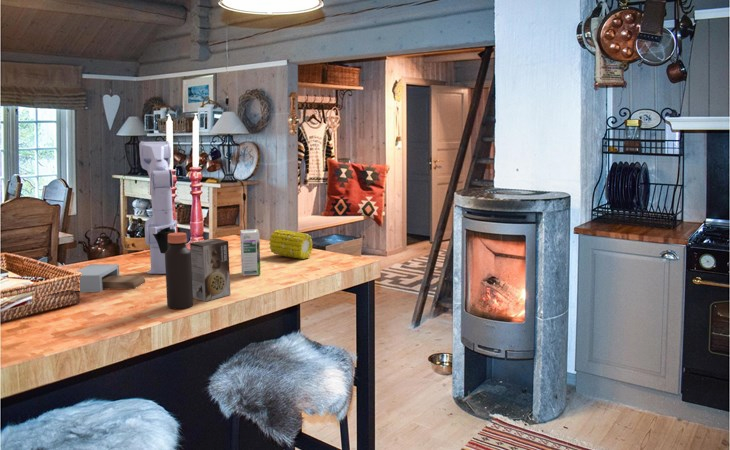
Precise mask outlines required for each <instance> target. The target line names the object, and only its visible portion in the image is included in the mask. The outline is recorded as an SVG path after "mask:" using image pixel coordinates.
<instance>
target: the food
mask: <svg viewBox="0 0 730 450" xmlns="http://www.w3.org/2000/svg"><path fill="white" fill-rule="evenodd" d="M269 249H270V252H271V253H273V254H274V255H278V256H283V257H289V258H294V259H302V260H305V259H308V258H310V257H311V254H312V251H313V240H312V236H311V235H309V234H308V233H304V232H298V231H292V230H285V229H276V230H274V231H273V232H272V233H271V234H270V238H269Z"/></svg>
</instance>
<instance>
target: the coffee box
mask: <svg viewBox="0 0 730 450" xmlns="http://www.w3.org/2000/svg"><path fill="white" fill-rule="evenodd" d="M189 247H190V248H189V250H190V251H191V264H192V289H193V299H197V300H200V301H203V302H208V301H212V300H216V299H219V298H224V297H227V296H230V295H231V276H230V275H231V274H230V252H229V248H230V247H229V241H228V240H224V239H221V238H216V237H215V238H210V239H205V240H198V241H192V242H190V243H189Z"/></svg>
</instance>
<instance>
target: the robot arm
mask: <svg viewBox="0 0 730 450" xmlns="http://www.w3.org/2000/svg"><path fill="white" fill-rule="evenodd" d="M138 149H139V158H140V166H141V168H142V169H143V170H145V171H147V174H148V177H149V185H150V187H149V188H150V200H151V212H152V216H151V217H149V218H148V219H146V221H145V223H144V237H145V238H144V239H145V240H144V241H145V244H146V245H147V246H149V256H150V257H149V258H150V269H149V270H148V271H147V272H146V274H147V275H148V274H150V275H151V274H153V275H157V274H158V275H159V274H160V275H166V269H165V252H166V251H167V250H168V249H169V244H168V234H170V233H177V224H178V223H177V222H178V221H177V219H174V217H173V216H174V212H173V196H172V195H173V192H172V189H173V186H174V176H173V171H172V169H170V165H171V157H172V152H171V151H172V150H171V149H172V148H171V142H169V140H167V141H143V140H141V141H140V142H139V148H138Z"/></svg>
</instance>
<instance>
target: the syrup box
mask: <svg viewBox="0 0 730 450" xmlns="http://www.w3.org/2000/svg"><path fill="white" fill-rule="evenodd" d="M260 243H261V242H260V231H259V230H258V229H244V230H243V229H240V262H241V274H242V277H247V276H249V277H250V276H261V247H260V246H261V244H260Z"/></svg>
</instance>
